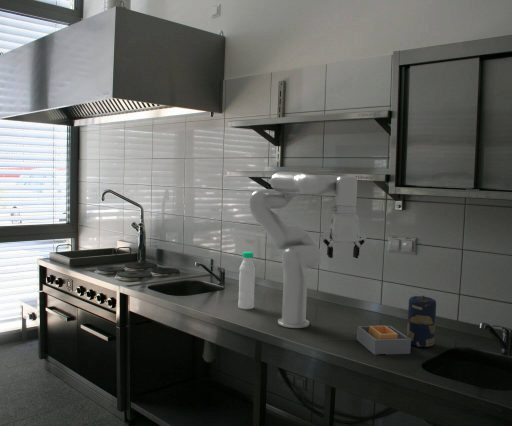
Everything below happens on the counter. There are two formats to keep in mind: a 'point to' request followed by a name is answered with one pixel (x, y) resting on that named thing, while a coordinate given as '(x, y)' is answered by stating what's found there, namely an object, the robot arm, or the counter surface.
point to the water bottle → (246, 282)
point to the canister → (421, 321)
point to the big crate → (384, 342)
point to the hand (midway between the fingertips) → (343, 257)
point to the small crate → (382, 332)
